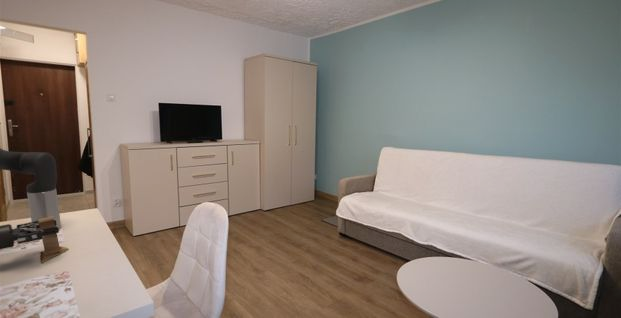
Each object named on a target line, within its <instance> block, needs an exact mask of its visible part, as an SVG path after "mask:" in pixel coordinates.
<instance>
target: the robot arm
mask: <svg viewBox="0 0 621 318" xmlns="http://www.w3.org/2000/svg"><path fill="white" fill-rule="evenodd" d="M56 161H57V160H56V159H55V157H54V156H53V154H51V153H49V152H44V151H43V152H41V151H40V152H39V151H38V152H37V151H34V152H33V151H29V152H25V151H23V152H21V151H11V150H10V151H9V150H5V149H4V148H1V147H0V170H2V171H10V172H15V173H20V174H26V175H34V181H33V182H31V183H29V184H27V185H26V187H25V188H26V194H27V199H28V200H27V202H28V207H29V214H30V220H31V222H25V223H19V224H16V228H13V226H12V224H10V223H8V224H3V225H0V250H4V249H5V250H6V249H9V248H13V247H14V246H15V242H17V244H18V245H19V244H20V245H21V244H24V243H25V244H26V243H30V242H35V241H40V240H42V237H45V236H47V235H51V234H56V233H57V234H58V233H59V234H60V229H61V228H62V223H61V215H60V210H59V200H58V193H57V187H56V186H57V182H58V173H57V172H58V171H57V170H58V169H57V163H56ZM52 216H53V218H54V223H55V227H52V228H47V229H40V227H39V222H38V219H43V218H47V217H52Z"/></svg>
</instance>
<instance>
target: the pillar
mask: <svg viewBox="0 0 621 318" xmlns="http://www.w3.org/2000/svg"><path fill="white" fill-rule="evenodd" d="M38 222H39V227H40V229H47V228H52V227H55V223H54V218H53V216H52V217H47V218H43V219H38ZM41 240H42V245H43V249H44V250H45V254H46V255H48V254H52V253H56V252H59V251H60V247H61V246H60V243H59V237H58V233H56V234H51V235H47V236H45V237H42V239H41ZM59 246H60V247H59ZM44 250H43V251H44Z"/></svg>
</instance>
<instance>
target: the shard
mask: <svg viewBox="0 0 621 318" xmlns="http://www.w3.org/2000/svg"><path fill="white" fill-rule="evenodd" d="M59 247H60V251H59V252H56V253H52V254H48V255H46V254H45V250H41V251H39V259H40V261H39V262H40V263H41V264H44V263H45V262H48V261H49V260H51V259H53V258H55V257H56V256H59V255H61V254H62V253H65V252H67V251H69V250H70V249H69V247H66V246H61V245H59Z"/></svg>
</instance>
